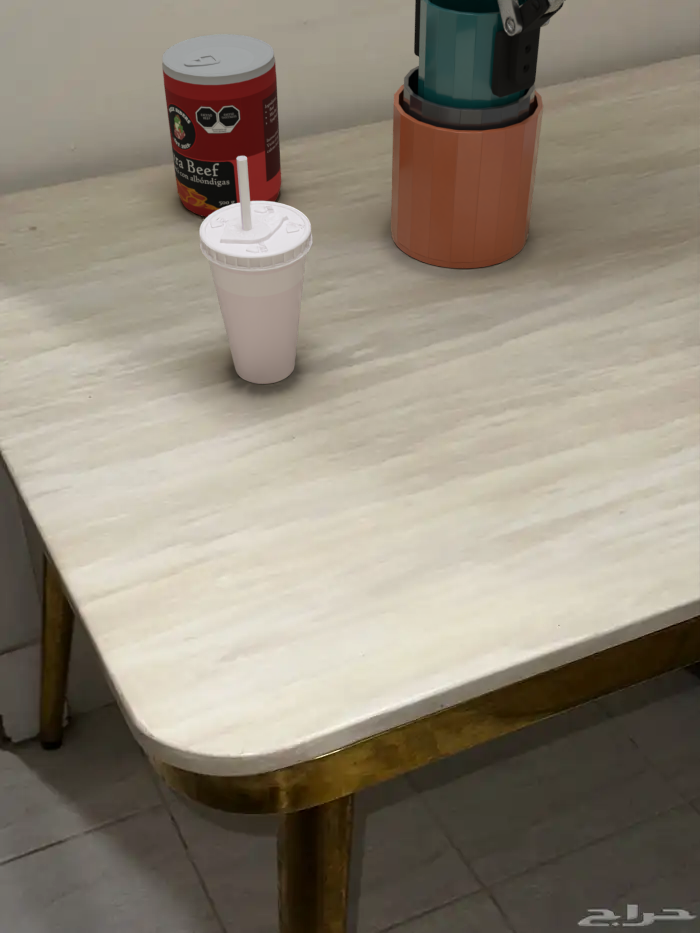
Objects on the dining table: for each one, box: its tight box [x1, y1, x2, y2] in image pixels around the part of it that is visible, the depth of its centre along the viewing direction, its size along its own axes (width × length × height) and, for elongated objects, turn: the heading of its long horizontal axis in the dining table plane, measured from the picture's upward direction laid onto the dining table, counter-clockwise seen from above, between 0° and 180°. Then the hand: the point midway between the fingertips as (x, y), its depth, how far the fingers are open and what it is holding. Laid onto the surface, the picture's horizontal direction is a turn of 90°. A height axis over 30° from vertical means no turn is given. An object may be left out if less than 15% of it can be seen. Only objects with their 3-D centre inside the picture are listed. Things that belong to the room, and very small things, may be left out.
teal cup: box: [418, 0, 527, 108], centre depth 72 cm, size 7×7×8 cm
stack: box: [390, 83, 544, 269], centre depth 77 cm, size 10×10×10 cm
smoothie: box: [198, 156, 313, 385], centre depth 64 cm, size 6×6×14 cm
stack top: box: [403, 65, 536, 131], centre depth 77 cm, size 9×9×11 cm
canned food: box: [161, 33, 282, 218], centre depth 81 cm, size 8×8×11 cm
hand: (472, 69), depth 72 cm, fingers closed on teal cup, 7 cm apart
